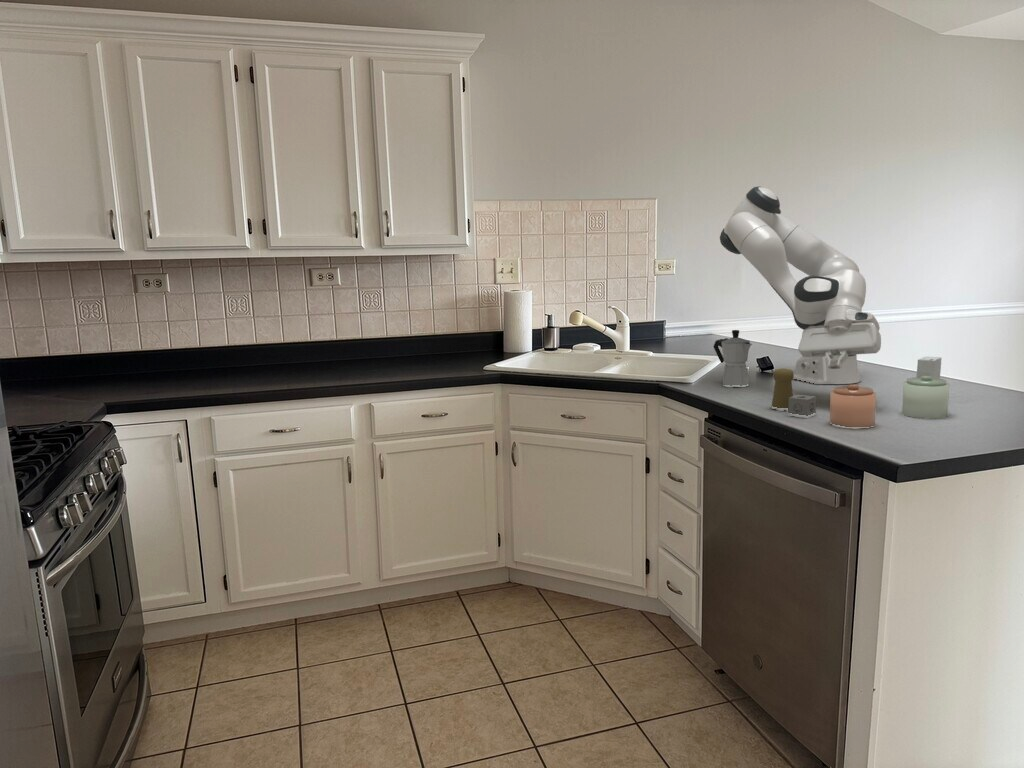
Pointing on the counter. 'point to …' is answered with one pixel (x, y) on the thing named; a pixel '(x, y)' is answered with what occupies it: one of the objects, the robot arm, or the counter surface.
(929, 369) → the skincare box
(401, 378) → the counter surface
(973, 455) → the counter surface
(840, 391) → the terracotta canister
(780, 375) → the cork
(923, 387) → the sage canister
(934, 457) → the counter surface
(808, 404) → the dice cube
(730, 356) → the coffee maker
